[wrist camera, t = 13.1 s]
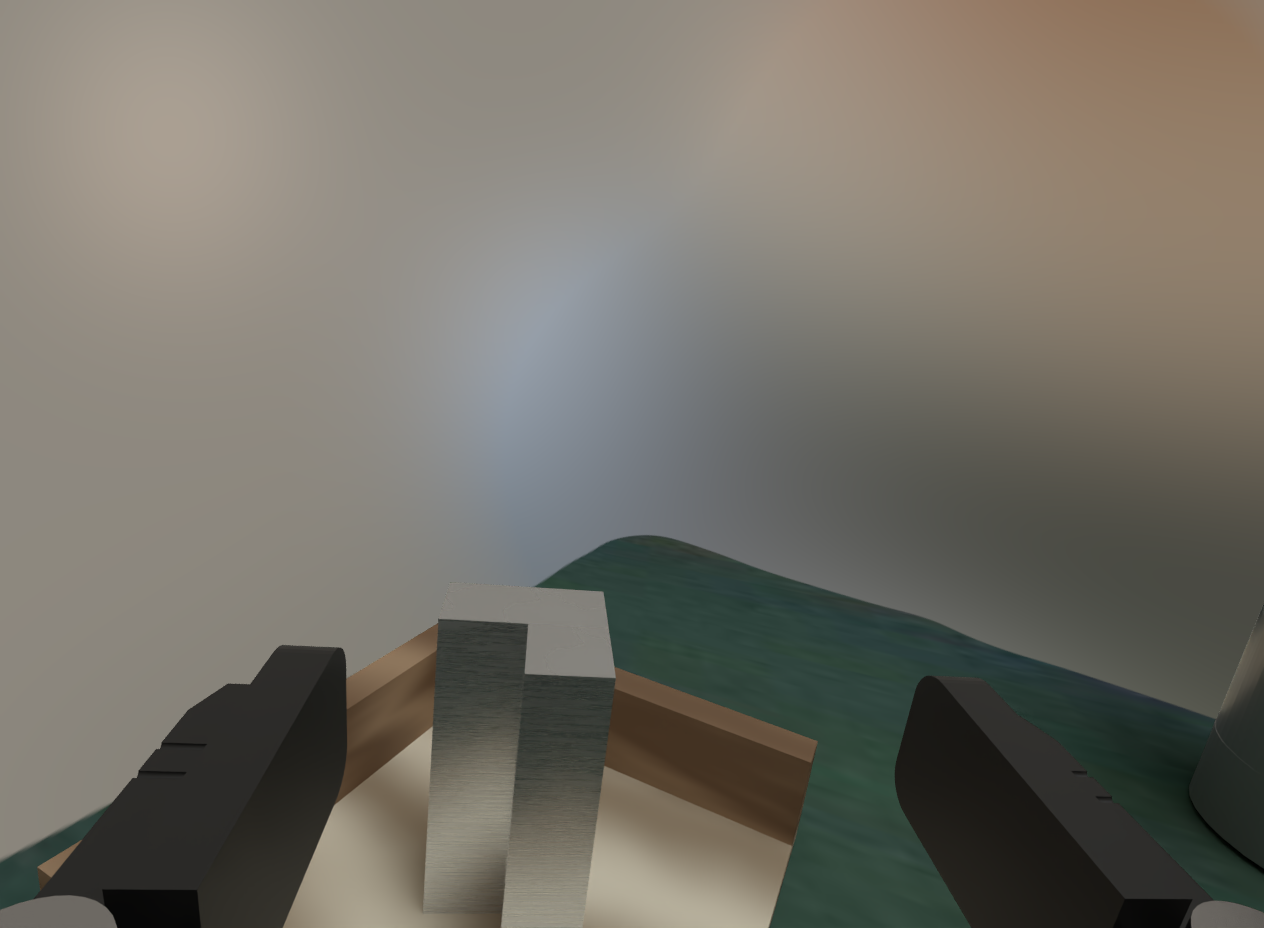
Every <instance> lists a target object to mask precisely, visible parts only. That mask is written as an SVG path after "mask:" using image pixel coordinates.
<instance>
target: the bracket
mask: <svg viewBox="0 0 1264 928" xmlns="http://www.w3.org/2000/svg"><path fill="white" fill-rule="evenodd" d="M615 681H616V676H615V669H614V662H613V655H612V649H611V642H610V635H609V628H608V621H607V615H606V608H605V601H604V594H603V592H598V591H582V590H566V589H550V588H535V587H519V586H503V585H487V584H471V583H456V582H450V585H449V588H448V591H447V594H446V597H445V600H444V603H443V606H442V610H441V613H440V616H439V619H438V637H437V656H436V674H435V693H434V712H433V731H432V750H431V768H430V787H429V806H428V825H427V844H426V862H425V881H424V900H423V914H501V926H500V928H583V920H584V913H585V905H586V898H587V890H588V883H589V875H590V868H591V860H592V853H593V845H594V838H595V830H596V823H597V815H598V808H599V800H600V793H601V786H602V778H603V771H604V763H605V756H606V748H607V741H608V733H609V726H610V718H611V711H612V703H613V696H614V688H615Z"/></svg>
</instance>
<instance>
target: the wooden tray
mask: <svg viewBox="0 0 1264 928" xmlns="http://www.w3.org/2000/svg"><path fill="white" fill-rule="evenodd" d="M437 637H438V623H437V624H436V625H434V626H433V627H431V628H429V629H428V630H426V631H425V632H423V633H421V634H419V635H418V636H416V637H414V638H413V639H411V640H410V641H408V642H406V643H405V644H403V645H402V646H400V647H398V648H396V649H395V650H393V651H392V652H390V653H388V654H387V655H385V656H383V657H382V658H380V659H379V660H377V661H375V662H373V663H372V664H370V665H368V666H367V667H365V668H364V669H362V670H360V671H359V672H357V673H355V674H354V675H352V676H350V677H349V678H347V679H346V696H347V756H346V764H345V770H344V775H343V780H342V784H341V787H340V791H339V794H338V797H337V799H336V802H335V804H334V807H333V809H332V811H331V814H330V816H329V818H328V821H327V823H326V826H325V828H324V830H323V833H322V835H321V838H320V840H319V842H318V845H317V847H316V850H315V852H314V854H313V857H312V859H311V861H310V864H309V866H308V869H307V871H306V873H305V876H304V878H303V881H302V883H301V885H300V888H299V890H298V893H297V895H296V897H295V900H294V902H293V904H292V907H291V909H290V912H289V914H288V916H287V919H286V921H285V924H284V926H283V928H500V926H501V914H423V900H424V881H425V862H426V844H427V825H428V806H429V787H430V768H431V750H432V731H433V712H434V693H435V674H436V656H437ZM614 669H615V676H616V681H615V688H614V696H613V703H612V711H611V718H610V726H609V733H608V741H607V748H606V756H605V763H604V771H603V778H602V786H601V793H600V800H599V808H598V815H597V823H596V830H595V838H594V845H593V853H592V860H591V868H590V875H589V883H588V890H587V898H586V905H585V913H584V920H583V928H770V924H771V921H772V917H773V914H774V910H775V907H776V903H777V900H778V897H779V893H780V890H781V886H782V883H783V879H784V876H785V872H786V869H787V866H788V862H789V859H790V855H791V852H792V848H793V845H794V841H795V838H796V834H797V829H798V825H799V821H800V816H801V812H802V808H803V803H804V799H805V795H806V790H807V786H808V782H809V777H810V773H811V769H812V764H813V760H814V756H815V751H816V747H817V742H818V741H815V740H812V739H810V738H807V737H804V736H802V735H799V734H796V733H793V732H791V731H788V730H785V729H782V728H780V727H777V726H774V725H771V724H769V723H766V722H763V721H761V720H758V719H755V718H752V717H750V716H747V715H744V714H741V713H739V712H736V711H733V710H730V709H728V708H725V707H722V706H720V705H717V704H714V703H711V702H709V701H706V700H703V699H700V698H698V697H695V696H692V695H689V694H687V693H684V692H681V691H679V690H676V689H673V688H670V687H668V686H665V685H662V684H659V683H657V682H654V681H651V680H648V679H646V678H643V677H640V676H638V675H635V674H632V673H629V672H627V671H624V670H621V669H618V668H616V667H614ZM81 841H82V840H81ZM81 841H79V842H78V843H76V844H75V845H73V846H71V847H70V848H68V849H66V850H65V851H63V852H61V853H60V854H58V855H56V856H55V857H53V858H52V859H50V860H48V861H47V862H45V863H43V864H42V865H40V866H38V867H37V868H38V876H39V883H40V890H42V888H43V887H44V886H45V885H46V883H47V882H48V881H49V880H50V879H51V877H52V876H53V875H54V874H55V872H56V871H57V870H58V869H59V868H60V866H61V865H62V864H63V863H64V861H65V860H66V859H67V858H68V857H69V855H70V854H71V853H72V852H73V850H74V849H75V848H76V847H77V846H78V844H79V843H80V842H81Z"/></svg>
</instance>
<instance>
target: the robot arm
mask: <svg viewBox="0 0 1264 928" xmlns="http://www.w3.org/2000/svg"><path fill="white" fill-rule="evenodd" d="M346 756H347V696H346V659H345V654H344V651H343V649H342V648H334V647H312V646H311V647H310V646H290V645H282V646H279V647H278V648H277V649H276V650H275V651H274V652H273V654H272V655H271V656H270V658H269V659H268V661H267V662H266V663H265V665H264V666H263V667H262V669H261V670H260V672H259V673H258V674H257V676H256V677H255V679H254V680H253V681H252V683H251V684H250V685H249V684H248V685H247V684H227V685H225V686H224V687H222V688H221V689H219V690H218V691H216V692H215V693H213V694H212V695H210V696H209V697H207V698H206V699H204V700H203V701H201V702H200V703H198V704H196V705H195V706H193V707H192V708H190V709H189V710H188V711H187V712H186V714H185V715H184V716H183V717H182V718H181V719H180V721H179V722H178V723H177V724H176V726H175V727H174V728H173V729H172V730H171V732H170V733H169V734H168V735H167V737H166V738H165V739H164V740H163V741H162V745H161V748H160V749H156V750H155V751H154V753H153V754H152V755H151V756H150V757H149V759H148V760H147V761H146V762H145V763H144V765H143V766H142V767H141V769H140V770H139V773H138V776H137V778H132V780H131V781H130V782H129V783H128V784H127V786H126V787H125V788H124V789H123V790H122V792H121V793H120V794H119V795H118V797H117V798H116V799H115V800H114V801H113V803H112V804H111V805H110V806H109V808H108V809H107V810H106V811H105V812H104V814H103V815H102V816H101V817H100V819H99V820H98V821H97V822H96V823H95V825H94V826H93V827H92V828H91V830H90V831H89V832H88V833H87V834H86V836H85V837H84V838H83V839H82V841H81V842H80V843H79V844H78V846H77V847H76V848H75V849H74V850H73V852H72V853H71V854H70V855H69V857H68V858H67V859H66V860H65V861H64V863H63V864H62V865H61V866H60V868H59V869H58V870H57V871H56V872H55V874H54V875H53V876H52V877H51V879H50V880H49V881H48V882H47V883H46V885H45V886H44V887H43V888H42V890H41V891H40V892H39V893H38V894H37V896H36V897H35V898H34V899H33V900H30V901H26V902H22V903H19V904H16V905H13V906H10V907H8V908H5V909H2V910H0V928H283V926H284V924H285V921H286V919H287V916H288V914H289V912H290V909H291V907H292V904H293V902H294V900H295V897H296V895H297V893H298V890H299V888H300V885H301V883H302V881H303V878H304V876H305V873H306V871H307V869H308V866H309V864H310V861H311V859H312V857H313V854H314V852H315V850H316V847H317V845H318V842H319V840H320V838H321V835H322V833H323V830H324V828H325V826H326V823H327V821H328V818H329V816H330V814H331V811H332V809H333V807H334V804H335V802H336V799H337V797H338V794H339V791H340V787H341V784H342V780H343V775H344V770H345V764H346ZM895 785H896V792H897V796H898V800H899V803H900V805H901V808H902V810H903V812H904V814H905V816H906V817H907V819H908V821H909V822H910V824H911V826H912V827H913V829H914V831H915V833H916V834H917V836H918V838H919V839H920V841H921V843H922V844H923V846H924V848H925V850H926V851H927V853H928V855H929V856H930V858H931V860H932V861H933V863H934V865H935V867H936V868H937V870H938V872H939V873H940V875H941V877H942V878H943V880H944V882H945V884H946V885H947V887H948V889H949V890H950V892H951V894H952V895H953V897H954V899H955V901H956V902H957V904H958V906H959V907H960V909H961V911H962V912H963V914H964V916H965V918H966V919H967V921H968V923H969V924H970V926H971V928H1264V913H1263V912H1261V911H1258V910H1255V909H1253V908H1250V907H1247V906H1244V905H1240V904H1237V903H1231V902H1226V901H1214V900H1213V899H1212V898H1211V897H1210V896H1209V895H1208V894H1207V893H1206V892H1205V891H1204V890H1203V889H1202V888H1201V887H1200V886H1199V885H1198V884H1197V883H1196V882H1195V881H1194V880H1193V879H1192V878H1191V877H1190V876H1189V875H1188V874H1187V873H1186V872H1185V871H1184V869H1183V868H1182V867H1181V866H1180V865H1179V864H1178V863H1177V862H1176V861H1175V860H1174V859H1173V858H1172V857H1171V856H1170V855H1169V854H1168V853H1167V852H1166V851H1165V850H1164V849H1163V848H1162V847H1161V846H1160V845H1159V844H1158V843H1157V842H1156V841H1155V840H1154V839H1153V838H1152V837H1151V836H1150V835H1149V834H1148V833H1147V832H1146V831H1145V830H1144V829H1143V828H1142V827H1141V826H1140V825H1139V824H1138V823H1137V822H1136V821H1135V820H1134V819H1133V818H1132V817H1131V816H1130V814H1129V813H1128V812H1127V811H1126V810H1125V809H1124V808H1123V807H1122V806H1121V805H1120V804H1119V803H1113V801H1112V796H1111V795H1110V794H1109V793H1108V792H1107V791H1106V790H1105V789H1104V788H1103V787H1102V786H1101V785H1100V784H1099V783H1098V782H1097V781H1096V780H1095V779H1094V778H1093V777H1088V776H1087V771H1086V770H1085V769H1084V768H1083V767H1082V766H1081V765H1080V764H1079V763H1078V762H1077V761H1076V759H1075V758H1074V757H1073V756H1072V755H1071V754H1070V753H1069V752H1068V751H1067V750H1066V749H1065V748H1064V747H1063V746H1062V745H1061V744H1060V743H1059V742H1058V741H1056V740H1055V739H1053V738H1052V737H1050V736H1049V735H1047V734H1046V733H1044V732H1043V731H1041V730H1040V729H1038V728H1037V727H1036V726H1034V725H1033V724H1031V723H1030V722H1028V721H1027V720H1025V719H1024V718H1022V717H1021V716H1018V715H1017V714H1016V713H1015V712H1014V711H1013V710H1012V709H1011V707H1010V706H1009V705H1008V704H1007V703H1006V702H1005V701H1004V700H1003V699H1002V698H1001V697H1000V696H999V695H998V694H997V693H996V692H995V691H994V690H993V689H992V688H991V686H990V685H989V684H987V683H986V682H985V681H984V680H982V679H979V678H968V677H946V676H926V677H924V678H923V679H921V681H920V682H919V683H918V685H917V688H916V691H915V694H914V698H913V701H912V705H911V709H910V712H909V716H908V720H907V724H906V727H905V731H904V735H903V738H902V742H901V746H900V750H899V753H898V757H897V761H896V766H895ZM1189 795H1190V798H1191V800H1192V802H1193V804H1194V806H1195V808H1196V810H1197V811H1198V812H1199V813H1200V815H1201V816H1202V817H1203V819H1204V820H1205V821H1206V822H1207V823H1208V824H1209V825H1210V826H1211V827H1212V828H1213V829H1214V830H1215V831H1216V832H1217V833H1218V834H1219V835H1220V836H1221V837H1222V838H1223V839H1224V840H1225V841H1227V842H1228V843H1229V844H1230V845H1232V846H1233V847H1234V848H1235V849H1237V850H1238V851H1239V852H1241V853H1242V854H1243V855H1244V856H1246V857H1247V858H1249V859H1250V860H1252V861H1253V862H1255V863H1256V864H1258V865H1259V866H1261V867H1262V868H1264V604H1263V606H1262V609H1261V611H1260V614H1259V616H1258V619H1257V621H1256V624H1255V626H1254V628H1253V631H1252V633H1251V636H1250V638H1249V641H1248V643H1247V646H1246V648H1245V651H1244V653H1243V656H1242V658H1241V660H1240V663H1239V665H1238V668H1237V670H1236V673H1235V675H1234V678H1233V680H1232V683H1231V685H1230V687H1229V690H1228V692H1227V695H1226V697H1225V700H1224V702H1223V705H1222V707H1221V709H1220V712H1219V714H1218V717H1217V719H1216V721H1215V723H1214V726H1213V728H1212V731H1211V733H1210V736H1209V738H1208V741H1207V743H1206V745H1205V748H1204V750H1203V753H1202V755H1201V758H1200V760H1199V763H1198V765H1197V767H1196V770H1195V772H1194V775H1193V777H1192V780H1191V782H1190V785H1189Z"/></svg>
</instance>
